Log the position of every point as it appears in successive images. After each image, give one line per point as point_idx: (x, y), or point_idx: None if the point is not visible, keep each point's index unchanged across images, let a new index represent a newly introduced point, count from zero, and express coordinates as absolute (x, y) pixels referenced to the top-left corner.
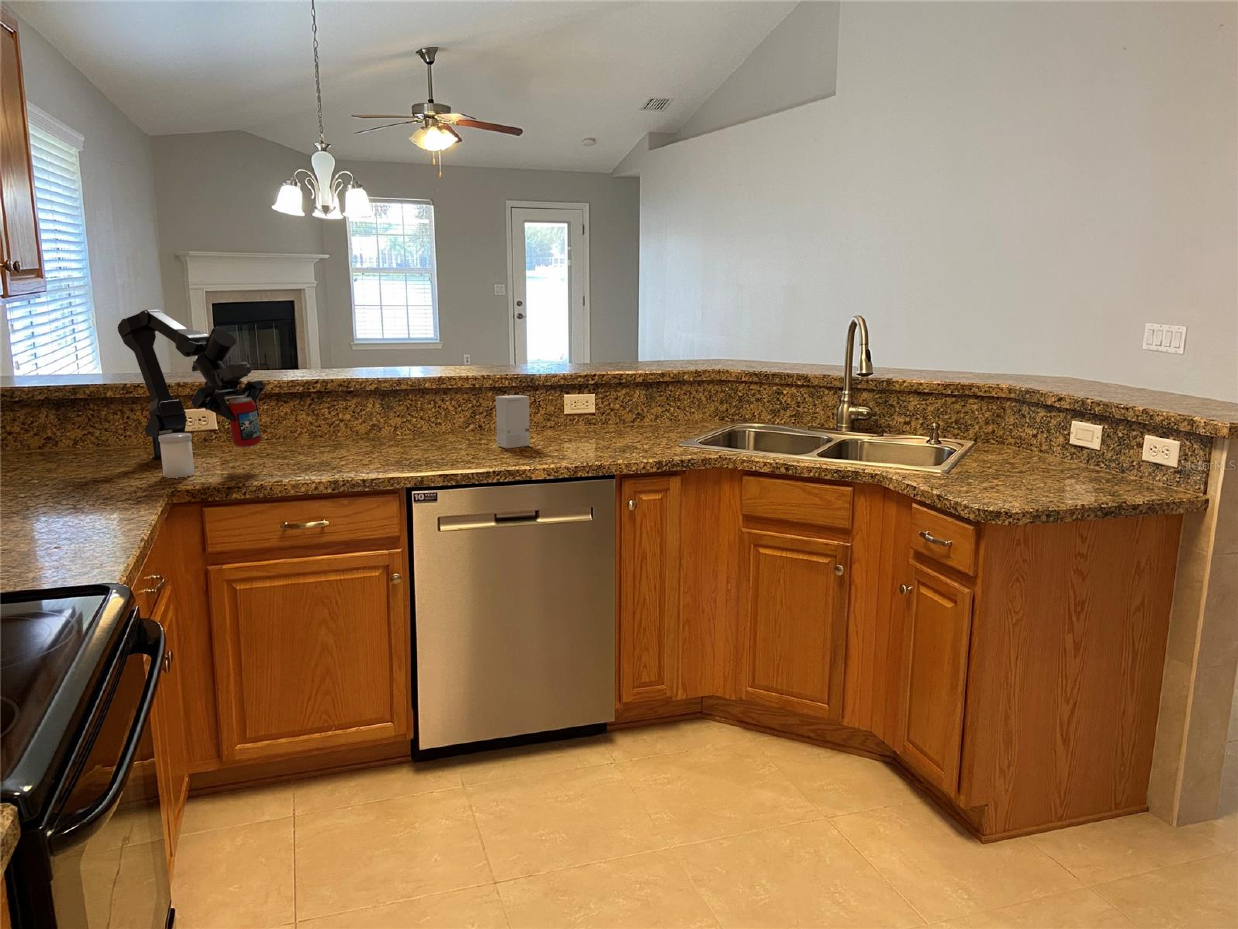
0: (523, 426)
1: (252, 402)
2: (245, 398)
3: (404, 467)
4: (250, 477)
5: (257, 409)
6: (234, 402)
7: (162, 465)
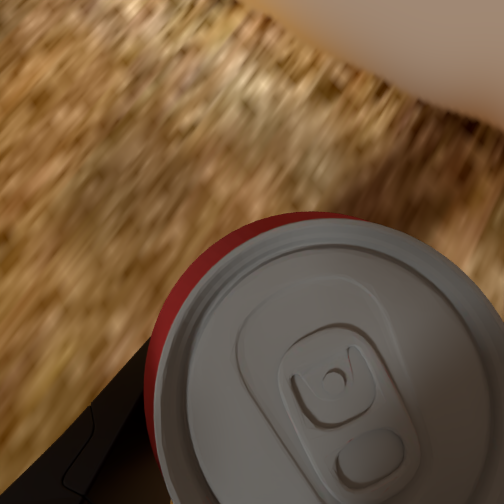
0: None
1: (226, 246)
2: (195, 478)
3: (16, 3)
4: (351, 204)
5: (140, 352)
6: (489, 309)
7: None
